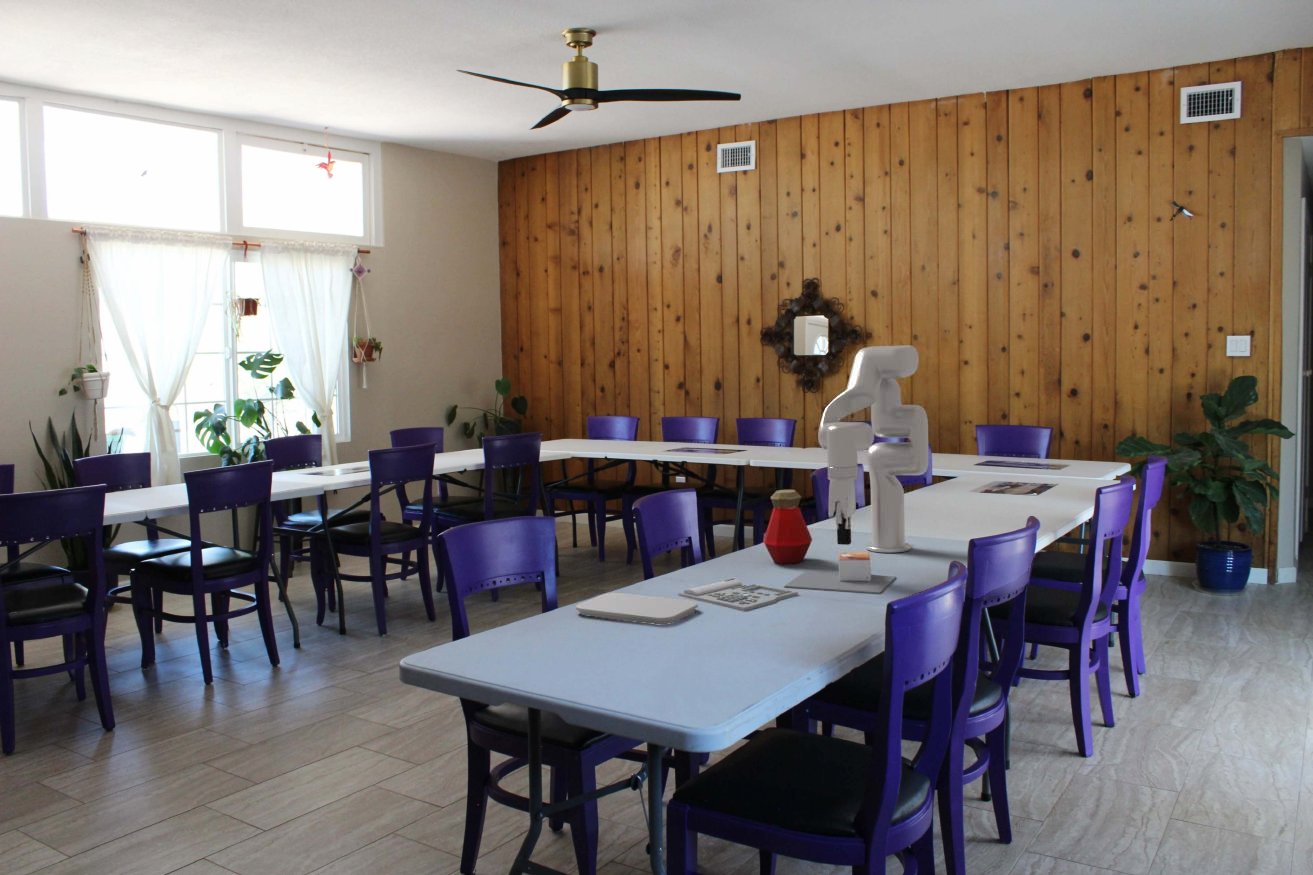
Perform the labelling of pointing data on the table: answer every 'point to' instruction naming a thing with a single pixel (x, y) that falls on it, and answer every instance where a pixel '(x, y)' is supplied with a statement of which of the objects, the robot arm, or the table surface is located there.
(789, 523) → the bottle
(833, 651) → the table surface
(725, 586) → the office telephone
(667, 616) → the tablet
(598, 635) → the table surface
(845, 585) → the mat
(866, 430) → the robot arm
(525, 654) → the table surface
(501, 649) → the table surface
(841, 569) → the small box
